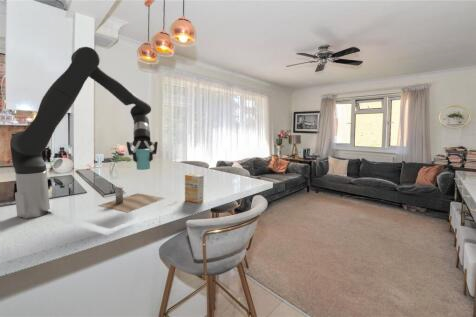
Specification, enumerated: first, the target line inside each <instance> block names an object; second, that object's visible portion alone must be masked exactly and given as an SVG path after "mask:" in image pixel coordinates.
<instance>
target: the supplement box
mask: <svg viewBox="0 0 476 317" xmlns="http://www.w3.org/2000/svg"><path fill="white" fill-rule="evenodd" d="M204 184H205V183H204V175H202V174H196V173H195V174H194V173H192V172H191V173H186V174H184V201H187V202H193V203H196V204H200V203H202V202H203V201H204V187H205V186H204Z"/></svg>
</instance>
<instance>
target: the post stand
mask: <svg viewBox="0 0 476 317" xmlns="http://www.w3.org/2000/svg"><path fill="white" fill-rule="evenodd" d="M114 191H115V199H114V200H111V201H109V202H108V201H107V202H105V203H102V204H98V205H97V206H98V207H101V208H106V209H110V210H114V211H118V212H123V213H126V214H129V213H130V212H132V211H136V210H138V209H140V208H143V207H147V206H149V205H152V204H153V203H156V202H158V201H159V202H160V201H161V200H164V199H165V197H161V196H156V195H155V196H154V195H152V194H151V195H150V194H144V193H140V192H139V193H138V192H137V193H134V194H130V195H126V196H124V189H123V186H117V187H115V188H114Z"/></svg>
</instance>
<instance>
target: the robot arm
mask: <svg viewBox="0 0 476 317" xmlns="http://www.w3.org/2000/svg"><path fill="white" fill-rule="evenodd" d="M70 58H71V61H70V62H71V63H70V64H69V66H68V68H67V69H66V70H65V71H64V72H63V73H62V74H60V76H59V77H58V78H57V79H56V80H55V81H54V82H53V83H52V84H51V86H49V88H47V91H46V93H45V94H44V95H43V96H42V99H41V101H40V103H39V107H38V109H37V113H36V115H35V117H34V118H33V120H32V121H31V123H30V124H29V125H28V126H27V127H26V129H25V130H20V131H17V132H16V133H14V134H13V135H12V136H11V138H10V142H9V143H10V144H9V145H10V154H11V162H12V166H13V167H14V173H15V182H16V190H17V191H16V192H15V193H14V200H15V207H16V208H15V209H16V216H17V217H18V216H19V217H18V218H21V217H22V219H25V220H26V219H31V218H38V217H42V216H45V215H48V214H49V213H50V212H51V211H49V210H50V209H51V208H50V206H51V205H50V196H49V194H50V193H49V186H48V185H49V184H48V173H47V164H46V162H45V161H44V158H43V152H44V151H45V150H46V148H47V147H48V145H49V143H50V140H51V139H52V136H53V134H54V132H55V131H56V129H57V127H58V126H59V124H60V123H61V122H62V120H63V119H64V117H65V116H66V115H67V113H68V111H69V110H70V109H71V107H72V106H73V105H74V103H75V101H76V100H77V98H78V97H79V94H80V93H81V91H82V89H83V87H84V84H85V83H86V81H87V80H88V78H90V79H92V80H93V81H94V82H96V83H97V84H98V85H100V86H102V87H103V89H105V90H106V91H108V92H109V93H111V94H112V96H114V97H115V98H116V99H117V100H119V101H120V102H121V103H122V104H123V105H124V106H130V105H134V106H132V107H131V109H130V111H129V112H130V115H131V117H132V120H133V141H132V142H130V141H126V148H127V152H128V155H129V156H132V161H133V162H134V163H136V162H137V161H136V151H135V149H142V148H144V149H145V148H146V149H150V151H149V156H150V163H151V162H152V161H153V160H154V159H153V158H154V156H153V155H156V154H157V152H158V141H155V142H152V140H151V130H150V129H151V128H150V122H149V117H148V116H147V115H148V114H150V113H151V112H152V106H151V104H150V103H148V101H146V100H144V99H143V98H141V97H139V96H137V95H136V94H134V93H133V92H132V91H131V90H130V89H129V88H128V87H126V85H124V84H123V83H121V82H120V81H118V80H117V79H115V78H113V77H112V76H110V75H108V74H107V73H106V72H105V71H103V70H102V69H101V67H99V65H100V61H101V58H100V55H99V54H98V52H97V51H96V50H95V49H94V48H92V47H89V46H81V47H79V48H77V49H76V50H75V51H74V52H73V53H72V55H71V56H70ZM151 146H152V147H153V149H152V148H151ZM132 147H134V149H133V150H132Z"/></svg>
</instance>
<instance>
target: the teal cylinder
mask: <svg viewBox="0 0 476 317" xmlns="http://www.w3.org/2000/svg"><path fill="white" fill-rule="evenodd" d="M134 149H135V148H134ZM135 151H136V161H137V162H135V163H136V170H140V171H143V170H145V171H146V170H150V169H151V164H150V163H151V162H150V156H149V151H150V149H146V148H145V149H144V148H142V149H135Z"/></svg>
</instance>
